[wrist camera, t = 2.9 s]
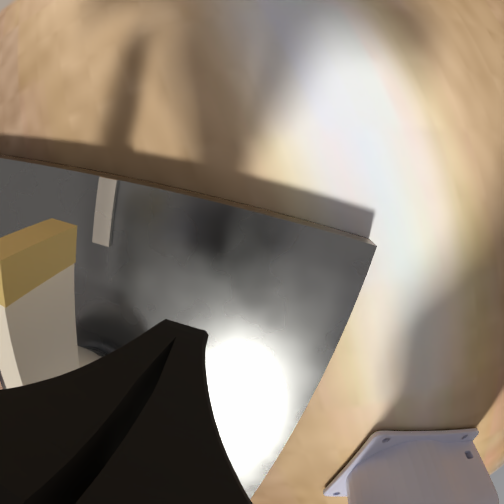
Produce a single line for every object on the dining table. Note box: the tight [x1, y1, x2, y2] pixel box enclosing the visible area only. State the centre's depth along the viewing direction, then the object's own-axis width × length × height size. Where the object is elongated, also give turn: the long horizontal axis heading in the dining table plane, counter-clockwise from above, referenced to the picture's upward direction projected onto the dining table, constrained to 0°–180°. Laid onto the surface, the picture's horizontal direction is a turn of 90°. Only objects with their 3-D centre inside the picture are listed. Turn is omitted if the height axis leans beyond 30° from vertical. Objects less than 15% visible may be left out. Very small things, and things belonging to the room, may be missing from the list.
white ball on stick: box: [0, 218, 101, 389], centre depth 9 cm, size 12×6×5 cm, turn 166°
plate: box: [0, 155, 377, 499], centre depth 13 cm, size 20×20×2 cm
